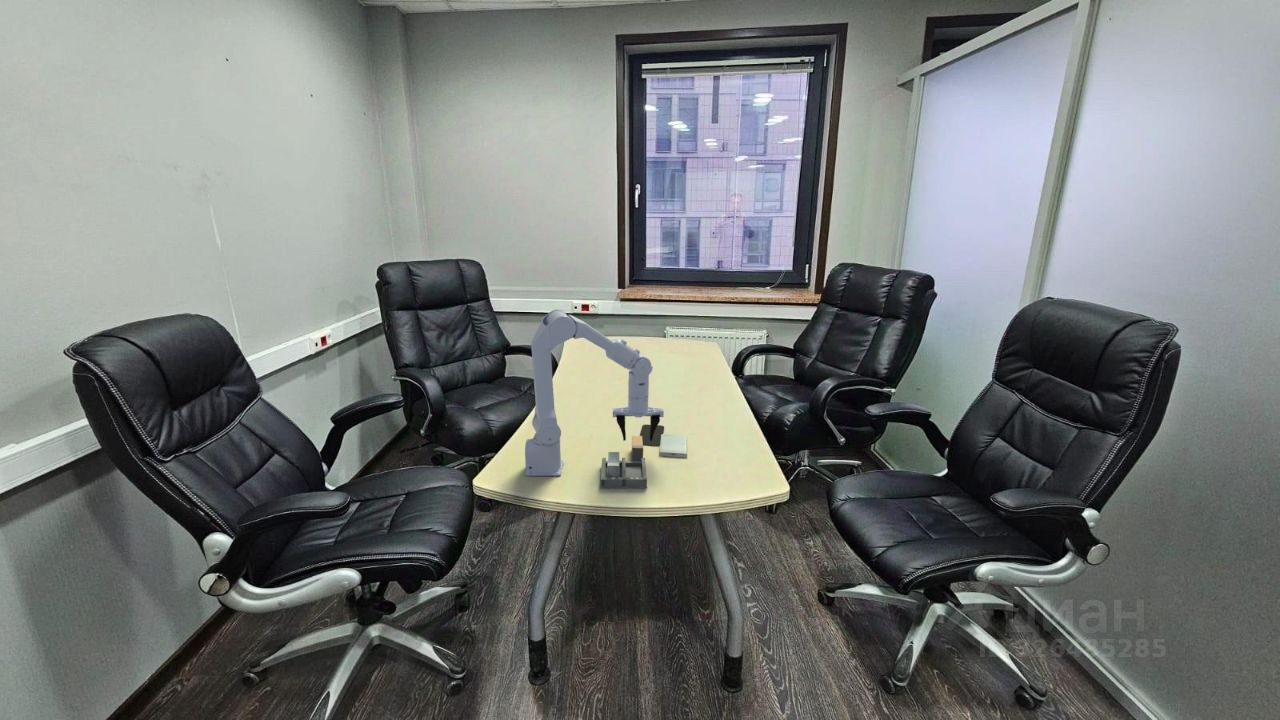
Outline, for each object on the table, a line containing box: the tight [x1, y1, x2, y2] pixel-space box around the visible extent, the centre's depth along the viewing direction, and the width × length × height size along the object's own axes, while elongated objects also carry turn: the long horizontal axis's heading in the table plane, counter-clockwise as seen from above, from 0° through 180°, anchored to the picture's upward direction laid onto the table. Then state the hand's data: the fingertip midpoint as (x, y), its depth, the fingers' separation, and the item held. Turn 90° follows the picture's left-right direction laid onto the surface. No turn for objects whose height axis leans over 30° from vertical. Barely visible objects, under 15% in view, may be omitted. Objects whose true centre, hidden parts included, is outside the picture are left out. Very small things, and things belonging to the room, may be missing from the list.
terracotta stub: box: [631, 435, 644, 461], centre depth 153 cm, size 3×8×5 cm, turn 2°
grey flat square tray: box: [600, 457, 648, 489], centre depth 141 cm, size 12×12×3 cm
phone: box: [639, 424, 665, 447], centre depth 167 cm, size 7×1×15 cm
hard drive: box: [659, 433, 688, 458], centre depth 159 cm, size 2×8×12 cm
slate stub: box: [607, 451, 620, 478], centre depth 141 cm, size 3×8×5 cm, turn 2°
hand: (637, 439), depth 152 cm, fingers open, 7 cm apart
